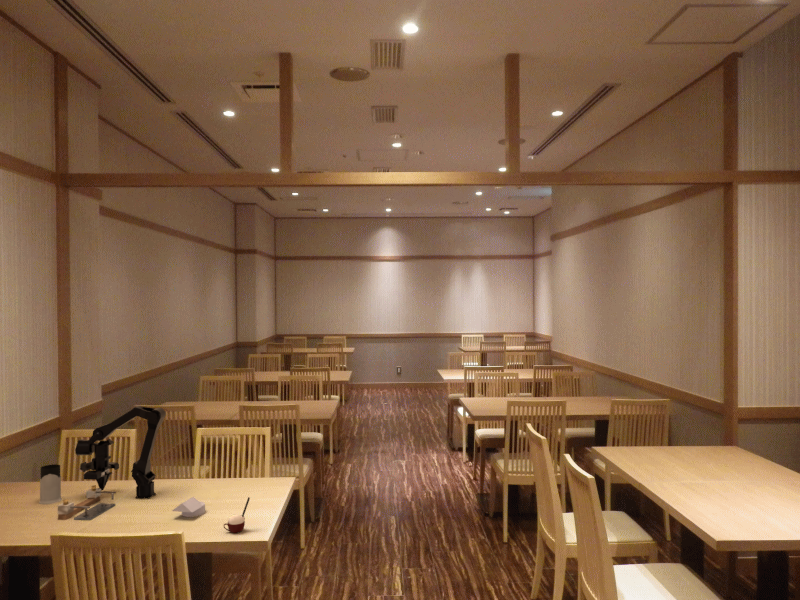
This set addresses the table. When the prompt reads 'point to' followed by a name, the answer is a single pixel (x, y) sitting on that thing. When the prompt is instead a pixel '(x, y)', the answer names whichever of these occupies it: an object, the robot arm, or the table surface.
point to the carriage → (97, 492)
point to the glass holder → (50, 484)
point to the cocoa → (236, 521)
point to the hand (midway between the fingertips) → (101, 490)
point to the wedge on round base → (191, 508)
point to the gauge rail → (74, 508)
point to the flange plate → (95, 511)
